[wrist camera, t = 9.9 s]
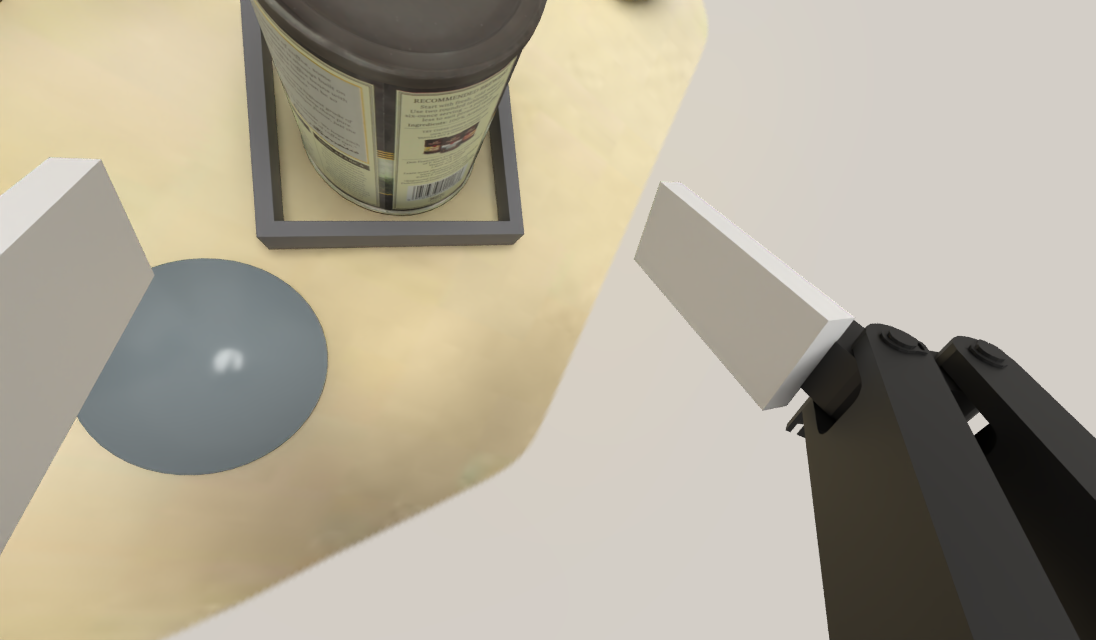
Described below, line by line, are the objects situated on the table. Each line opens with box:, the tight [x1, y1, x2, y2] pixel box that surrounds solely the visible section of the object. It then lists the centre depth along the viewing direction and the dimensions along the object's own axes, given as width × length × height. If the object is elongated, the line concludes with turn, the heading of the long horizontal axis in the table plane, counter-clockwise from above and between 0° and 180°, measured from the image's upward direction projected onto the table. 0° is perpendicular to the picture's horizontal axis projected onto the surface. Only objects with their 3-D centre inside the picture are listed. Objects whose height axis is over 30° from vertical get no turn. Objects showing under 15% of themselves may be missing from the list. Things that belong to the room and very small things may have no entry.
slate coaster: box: [77, 258, 328, 475], centre depth 23 cm, size 11×11×1 cm
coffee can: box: [250, 0, 547, 215], centre depth 21 cm, size 10×10×14 cm
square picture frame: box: [240, 0, 524, 249], centre depth 26 cm, size 14×14×2 cm
